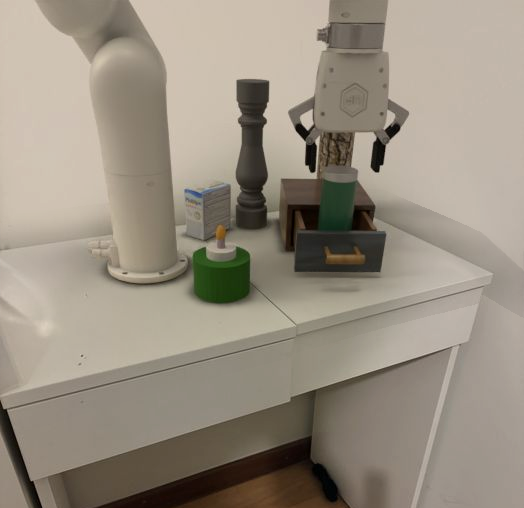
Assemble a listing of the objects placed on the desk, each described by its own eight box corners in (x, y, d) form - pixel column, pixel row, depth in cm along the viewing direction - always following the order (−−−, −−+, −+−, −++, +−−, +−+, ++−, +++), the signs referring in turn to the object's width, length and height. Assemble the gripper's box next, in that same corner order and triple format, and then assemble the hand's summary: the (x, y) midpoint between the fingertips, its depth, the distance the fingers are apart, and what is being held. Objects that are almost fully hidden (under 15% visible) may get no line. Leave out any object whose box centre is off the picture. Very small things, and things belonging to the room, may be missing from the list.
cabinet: (368, 251, 91) (375, 205, 86) (285, 251, 90) (287, 204, 86) (352, 221, 104) (357, 179, 99) (278, 220, 103) (280, 178, 99)
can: (318, 256, 83) (325, 174, 76) (314, 244, 88) (320, 165, 80) (351, 256, 83) (361, 174, 76) (345, 244, 88) (354, 165, 81)
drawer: (388, 286, 77) (395, 246, 74) (297, 286, 77) (300, 245, 73) (361, 238, 93) (366, 203, 90) (286, 237, 93) (288, 202, 89)
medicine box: (213, 224, 101) (212, 178, 96) (231, 229, 98) (231, 183, 94) (185, 235, 95) (183, 188, 90) (204, 241, 93) (202, 193, 88)
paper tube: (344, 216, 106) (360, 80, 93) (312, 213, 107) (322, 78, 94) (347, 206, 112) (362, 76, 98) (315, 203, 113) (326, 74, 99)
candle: (192, 303, 73) (189, 236, 68) (195, 278, 80) (192, 215, 75) (251, 303, 74) (252, 236, 68) (248, 277, 81) (249, 215, 75)
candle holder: (238, 217, 104) (238, 78, 91) (268, 219, 104) (273, 79, 90) (232, 227, 99) (231, 81, 85) (264, 230, 98) (268, 83, 85)
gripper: (293, 40, 66) (288, 177, 75) (427, 41, 66) (406, 177, 76) (288, 37, 72) (284, 164, 81) (411, 38, 73) (393, 164, 82)
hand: (343, 170), depth 79 cm, fingers open, 9 cm apart
